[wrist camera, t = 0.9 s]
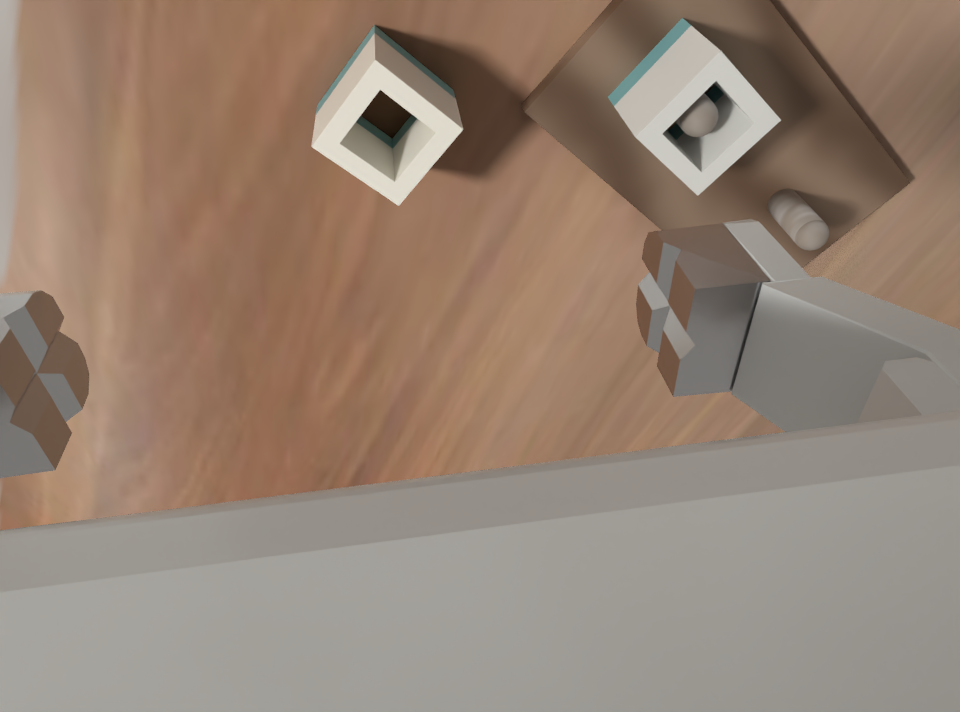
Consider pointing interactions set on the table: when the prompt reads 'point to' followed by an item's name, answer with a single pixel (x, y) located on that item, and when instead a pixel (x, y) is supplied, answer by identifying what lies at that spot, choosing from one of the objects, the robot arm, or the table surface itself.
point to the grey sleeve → (674, 88)
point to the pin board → (756, 174)
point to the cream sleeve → (367, 147)
